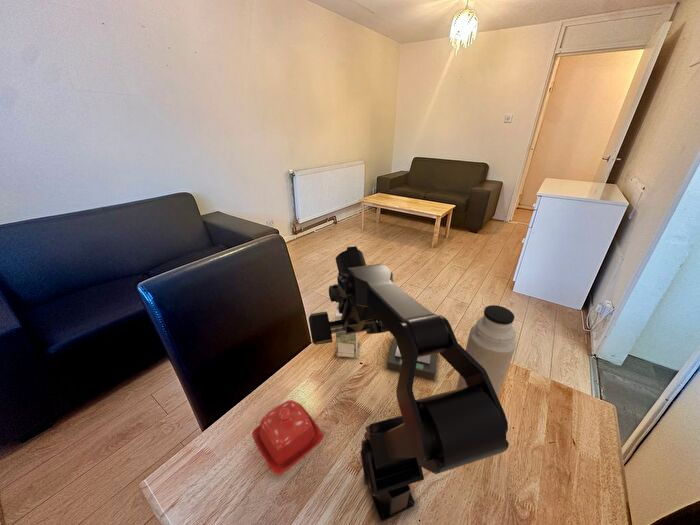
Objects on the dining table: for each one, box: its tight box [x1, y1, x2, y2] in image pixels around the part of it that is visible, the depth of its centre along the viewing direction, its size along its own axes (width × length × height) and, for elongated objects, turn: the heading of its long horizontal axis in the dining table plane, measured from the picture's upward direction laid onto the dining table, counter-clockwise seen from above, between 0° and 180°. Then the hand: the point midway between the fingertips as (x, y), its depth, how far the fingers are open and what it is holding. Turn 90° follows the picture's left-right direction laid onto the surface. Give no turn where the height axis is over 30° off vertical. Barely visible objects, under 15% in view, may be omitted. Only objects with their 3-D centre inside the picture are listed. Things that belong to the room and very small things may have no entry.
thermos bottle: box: [455, 304, 517, 398], centre depth 57 cm, size 8×8×28 cm
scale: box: [386, 336, 438, 381], centre depth 78 cm, size 12×12×3 cm
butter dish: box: [251, 399, 325, 477], centre depth 57 cm, size 12×12×8 cm
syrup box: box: [334, 303, 359, 359], centre depth 78 cm, size 6×6×14 cm
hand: (348, 335), depth 68 cm, fingers open, 9 cm apart
